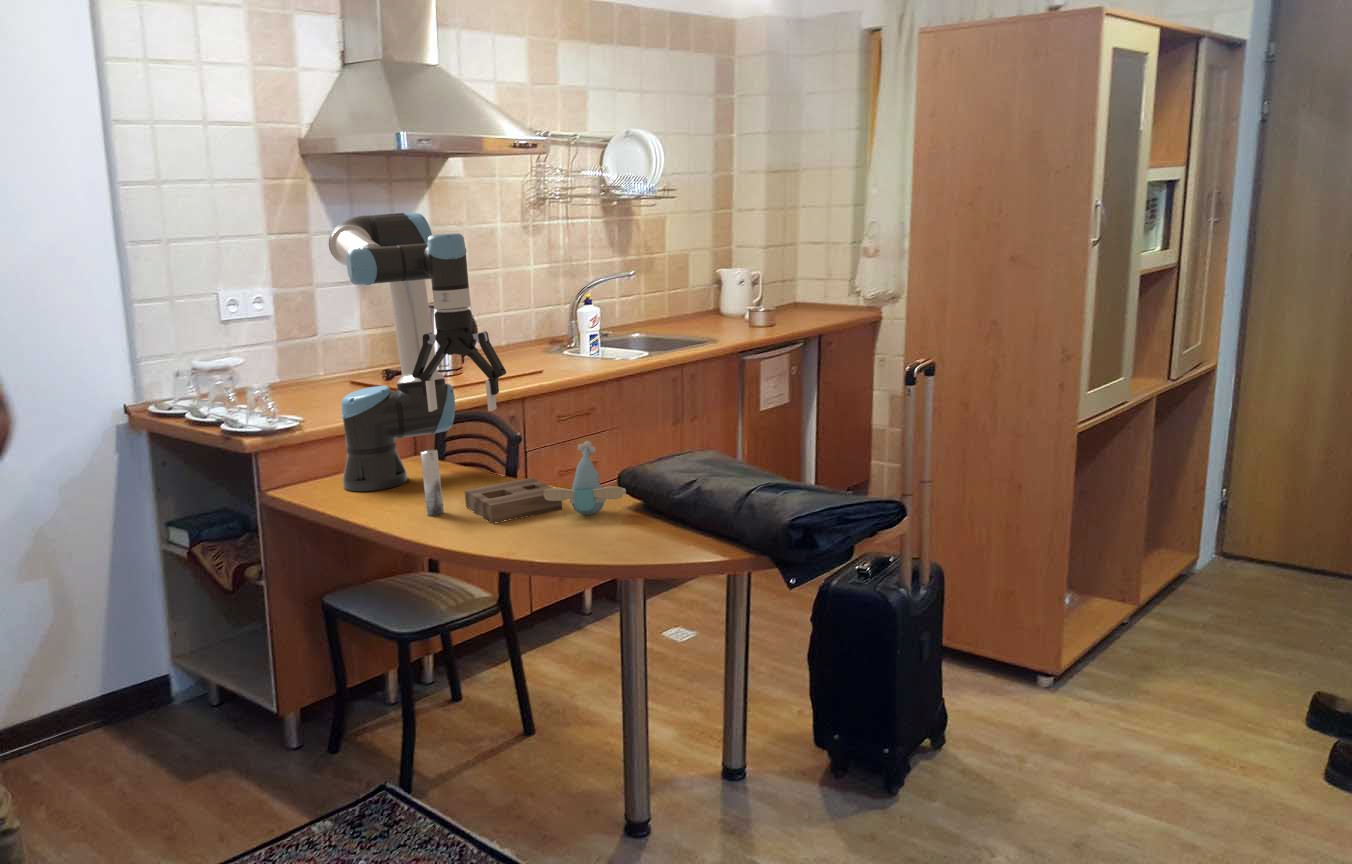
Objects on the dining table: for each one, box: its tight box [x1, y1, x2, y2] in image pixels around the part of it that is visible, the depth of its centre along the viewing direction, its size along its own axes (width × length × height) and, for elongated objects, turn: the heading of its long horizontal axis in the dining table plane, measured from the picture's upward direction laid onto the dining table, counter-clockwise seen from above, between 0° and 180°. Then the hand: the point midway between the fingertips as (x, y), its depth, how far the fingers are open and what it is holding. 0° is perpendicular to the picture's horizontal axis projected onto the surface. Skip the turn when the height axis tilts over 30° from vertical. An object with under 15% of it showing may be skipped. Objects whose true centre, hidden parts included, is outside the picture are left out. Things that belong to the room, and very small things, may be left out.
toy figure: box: [544, 440, 627, 516], centre depth 233 cm, size 17×10×15 cm, turn 84°
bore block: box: [464, 477, 563, 524], centre depth 241 cm, size 16×16×4 cm
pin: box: [420, 449, 445, 517], centre depth 240 cm, size 4×4×14 cm
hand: (462, 410), depth 234 cm, fingers open, 13 cm apart
